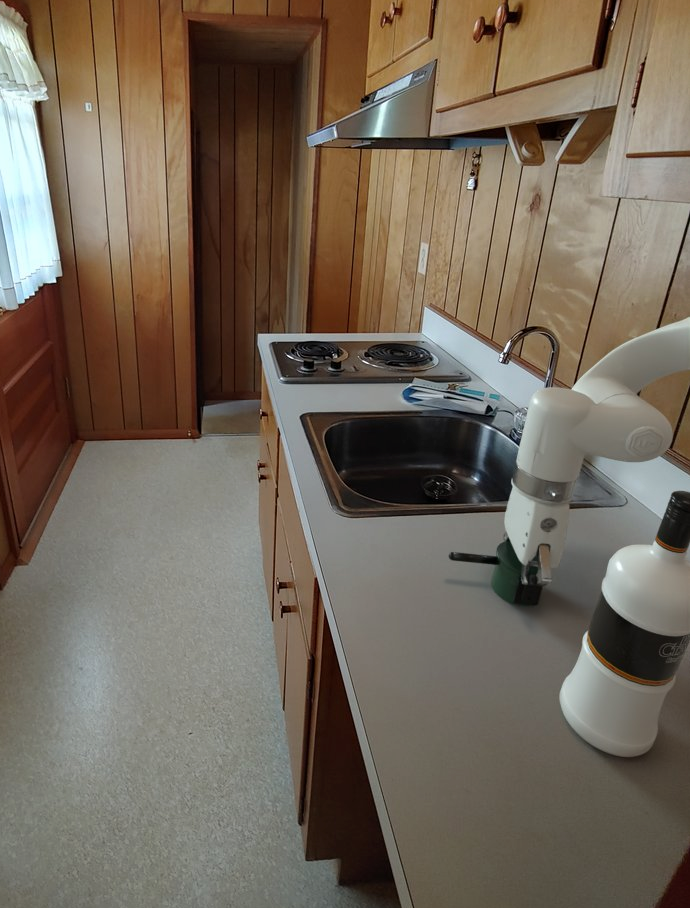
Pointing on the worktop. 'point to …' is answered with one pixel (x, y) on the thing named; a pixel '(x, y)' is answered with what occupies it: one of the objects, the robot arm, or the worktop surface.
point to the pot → (500, 569)
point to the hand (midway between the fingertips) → (516, 582)
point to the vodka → (634, 640)
